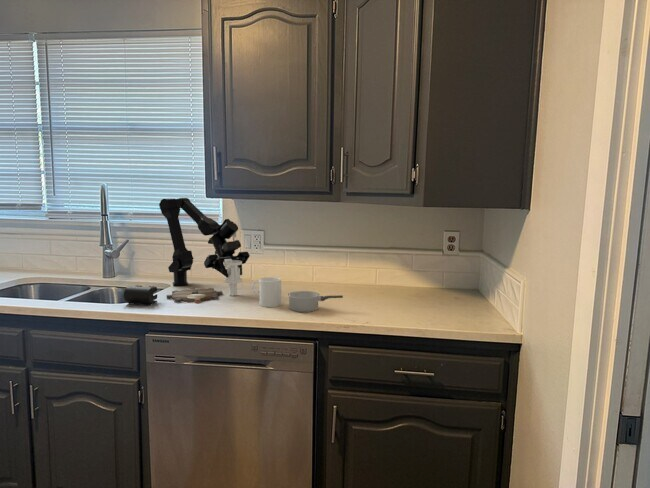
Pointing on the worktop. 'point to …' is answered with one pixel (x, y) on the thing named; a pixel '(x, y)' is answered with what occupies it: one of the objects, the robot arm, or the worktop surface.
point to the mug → (269, 291)
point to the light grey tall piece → (232, 275)
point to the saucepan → (306, 300)
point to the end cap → (140, 295)
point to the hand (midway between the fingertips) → (234, 275)
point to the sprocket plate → (194, 295)
